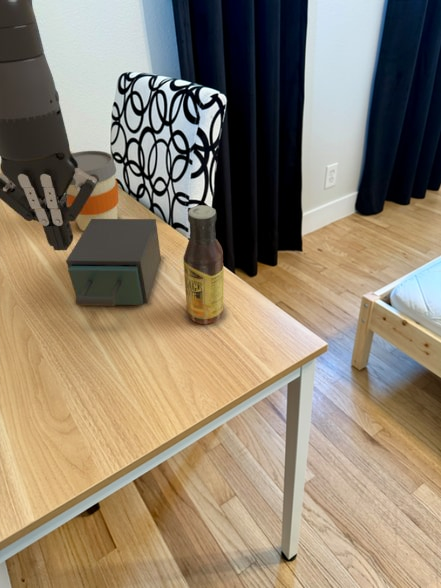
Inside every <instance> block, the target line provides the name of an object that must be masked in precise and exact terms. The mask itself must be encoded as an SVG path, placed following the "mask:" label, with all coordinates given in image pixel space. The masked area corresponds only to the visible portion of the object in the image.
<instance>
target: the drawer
mask: <svg viewBox="0 0 441 588" xmlns="http://www.w3.org/2000/svg"><path fill="white" fill-rule="evenodd" d="M67 271H68V274H69V278H70V281H71V284H72V288H73V291H74V294H75V304H76V305H77V306H116V305H122V306H123V305H124V306H125V305H127V306H128V305H131V306H132V305H133V306H135V305H136V306H142V305H143V304H144V303H143V296H142V290H141V285H140V279H139V273H138V268H137V265H131V267H128V266H96V265H78V266H70V267H69V269H67Z"/></svg>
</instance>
